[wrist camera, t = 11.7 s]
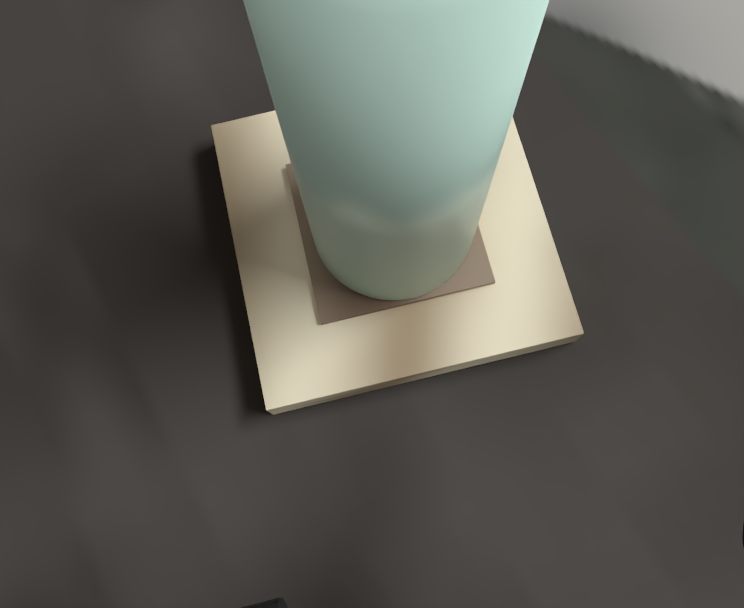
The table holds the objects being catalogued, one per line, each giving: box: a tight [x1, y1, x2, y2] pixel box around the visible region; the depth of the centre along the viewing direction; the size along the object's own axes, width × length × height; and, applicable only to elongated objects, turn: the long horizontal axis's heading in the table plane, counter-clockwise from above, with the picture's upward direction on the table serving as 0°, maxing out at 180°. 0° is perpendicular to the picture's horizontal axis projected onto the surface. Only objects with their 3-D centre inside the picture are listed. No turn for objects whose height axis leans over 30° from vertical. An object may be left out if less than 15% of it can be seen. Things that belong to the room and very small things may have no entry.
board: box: [211, 110, 584, 415], centre depth 23 cm, size 10×10×1 cm
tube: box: [243, 0, 549, 301], centre depth 16 cm, size 5×5×13 cm
